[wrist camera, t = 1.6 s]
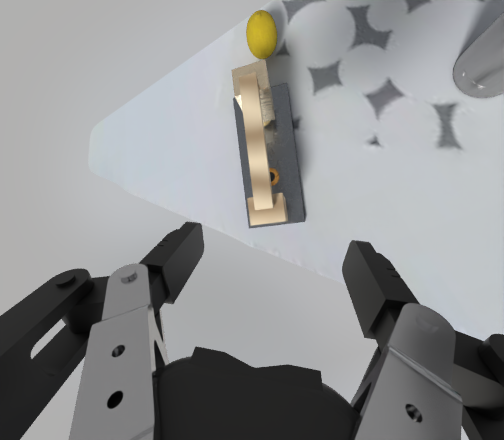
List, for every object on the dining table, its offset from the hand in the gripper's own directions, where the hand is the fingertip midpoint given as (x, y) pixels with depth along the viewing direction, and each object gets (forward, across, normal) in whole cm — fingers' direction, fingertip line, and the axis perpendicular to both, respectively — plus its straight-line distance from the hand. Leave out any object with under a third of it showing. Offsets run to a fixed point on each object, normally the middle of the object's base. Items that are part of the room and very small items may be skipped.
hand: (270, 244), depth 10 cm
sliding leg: (+28, +2, +3) cm, 29 cm away
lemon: (+42, +6, -17) cm, 45 cm away
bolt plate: (+31, +3, +2) cm, 32 cm away
